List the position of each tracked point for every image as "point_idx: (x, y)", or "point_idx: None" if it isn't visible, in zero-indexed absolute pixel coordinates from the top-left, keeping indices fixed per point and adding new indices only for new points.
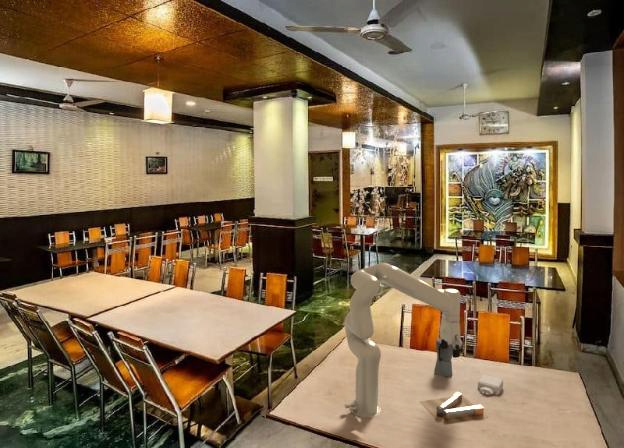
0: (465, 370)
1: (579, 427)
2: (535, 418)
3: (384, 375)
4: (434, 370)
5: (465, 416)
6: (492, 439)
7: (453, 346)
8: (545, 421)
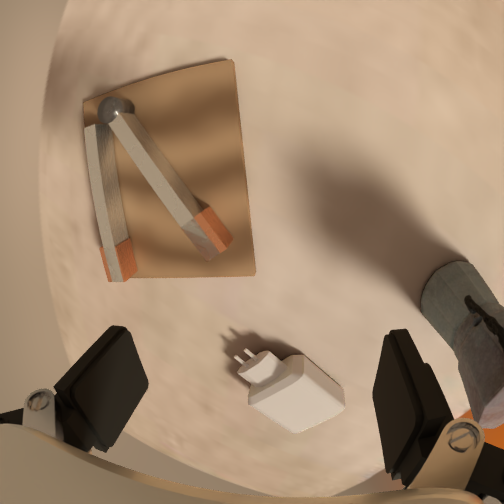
0: None
1: None
2: None
3: (481, 47)
4: (472, 266)
5: None
6: (48, 230)
7: (47, 420)
8: None
